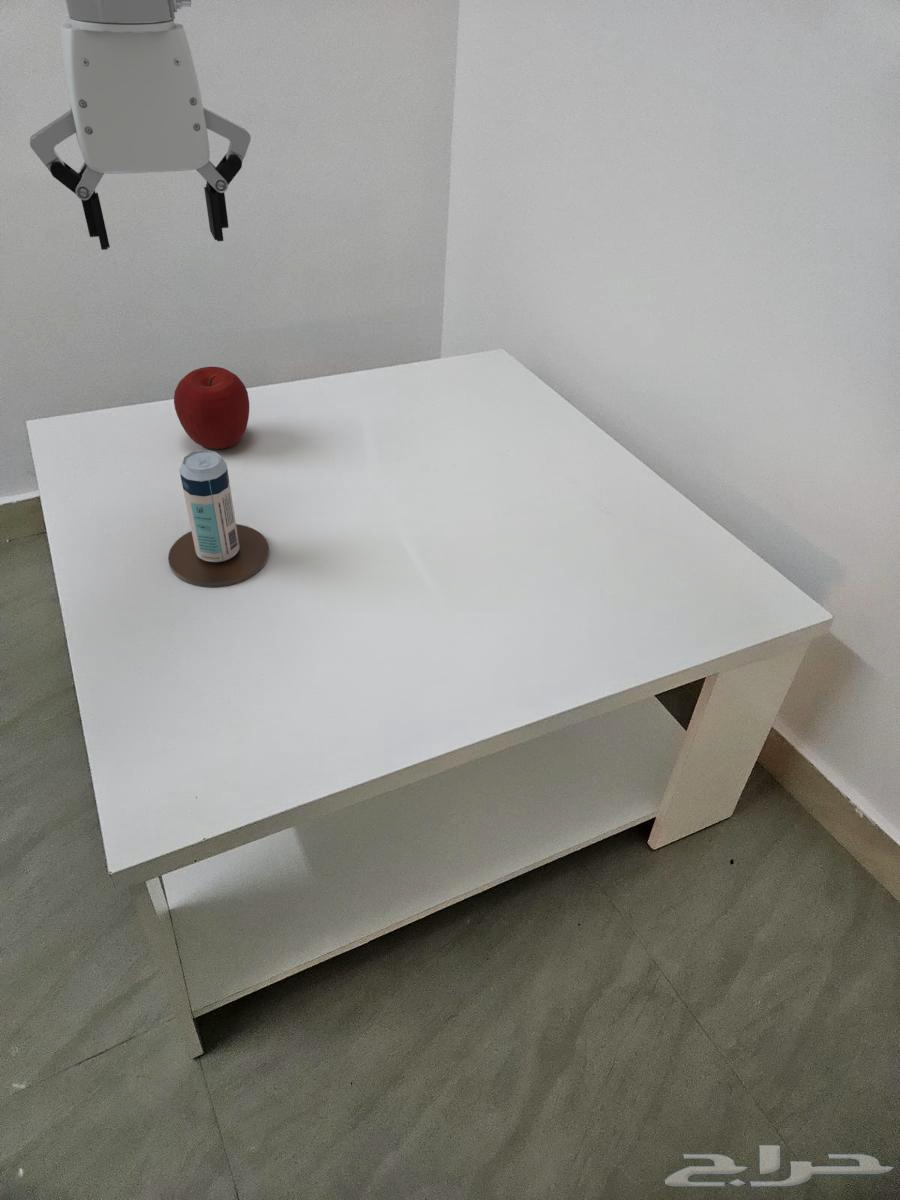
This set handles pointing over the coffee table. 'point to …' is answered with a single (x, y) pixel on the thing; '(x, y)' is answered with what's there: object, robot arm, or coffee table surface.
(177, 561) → the coaster
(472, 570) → the coffee table surface
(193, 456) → the beer can
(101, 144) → the robot arm
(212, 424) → the apple
